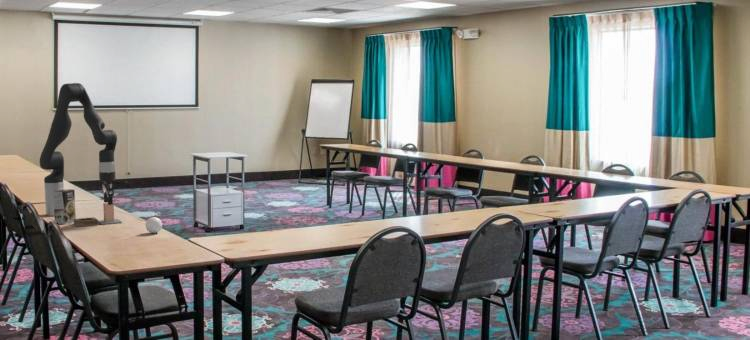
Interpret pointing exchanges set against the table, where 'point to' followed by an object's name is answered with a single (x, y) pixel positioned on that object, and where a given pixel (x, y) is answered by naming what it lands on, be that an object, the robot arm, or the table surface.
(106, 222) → the pad
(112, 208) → the peg
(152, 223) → the white sphere
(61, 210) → the coffee box
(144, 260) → the table surface
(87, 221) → the pocket block
